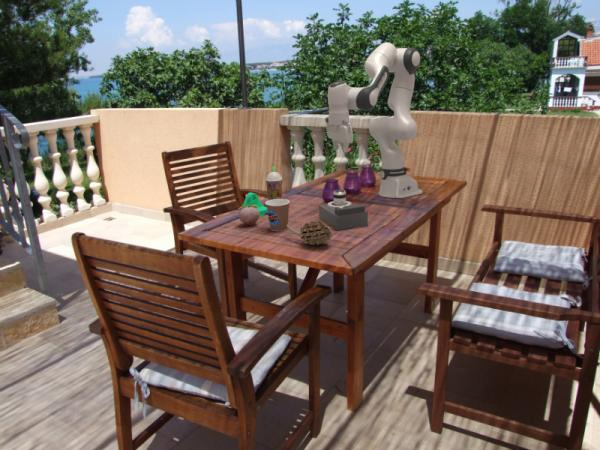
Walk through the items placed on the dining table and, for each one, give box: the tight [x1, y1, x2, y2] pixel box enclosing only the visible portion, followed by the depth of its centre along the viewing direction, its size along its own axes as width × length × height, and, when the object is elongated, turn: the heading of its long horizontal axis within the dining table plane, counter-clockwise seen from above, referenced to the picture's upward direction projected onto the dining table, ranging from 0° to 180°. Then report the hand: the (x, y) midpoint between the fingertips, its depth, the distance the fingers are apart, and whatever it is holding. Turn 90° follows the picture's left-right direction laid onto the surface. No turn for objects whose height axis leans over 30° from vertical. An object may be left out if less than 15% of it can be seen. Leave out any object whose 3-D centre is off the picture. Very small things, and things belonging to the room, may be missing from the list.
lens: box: [332, 189, 347, 206], centre depth 228 cm, size 6×6×10 cm
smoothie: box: [265, 165, 283, 201], centre depth 255 cm, size 8×8×20 cm
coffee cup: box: [265, 198, 291, 232], centre depth 220 cm, size 10×10×12 cm
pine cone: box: [286, 219, 333, 246], centre depth 202 cm, size 22×10×10 cm, turn 56°
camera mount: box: [242, 192, 268, 218], centre depth 243 cm, size 12×8×10 cm, turn 128°
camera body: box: [318, 200, 369, 231], centre depth 226 cm, size 14×20×9 cm
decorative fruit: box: [237, 203, 260, 226], centre depth 228 cm, size 9×8×10 cm
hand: (340, 150), depth 234 cm, fingers open, 8 cm apart
